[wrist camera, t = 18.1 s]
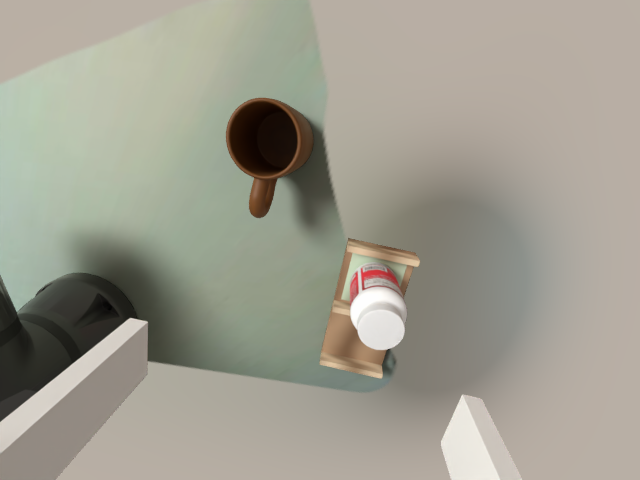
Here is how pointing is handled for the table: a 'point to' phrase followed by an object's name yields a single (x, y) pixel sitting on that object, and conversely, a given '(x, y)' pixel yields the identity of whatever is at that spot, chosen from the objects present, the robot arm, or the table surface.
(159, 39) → the table surface
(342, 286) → the notch board
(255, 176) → the mug
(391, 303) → the pill bottle
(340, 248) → the table surface
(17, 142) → the table surface
